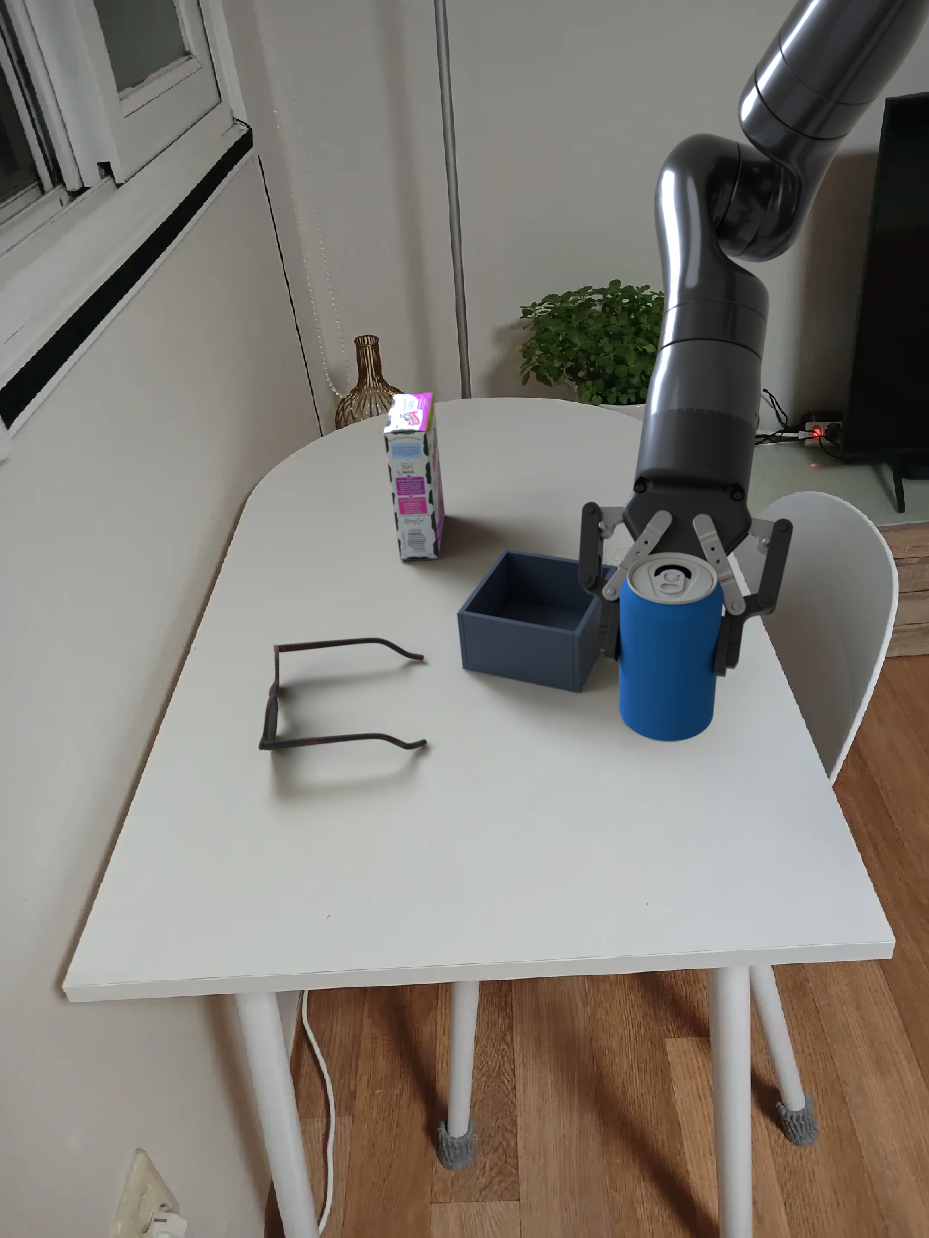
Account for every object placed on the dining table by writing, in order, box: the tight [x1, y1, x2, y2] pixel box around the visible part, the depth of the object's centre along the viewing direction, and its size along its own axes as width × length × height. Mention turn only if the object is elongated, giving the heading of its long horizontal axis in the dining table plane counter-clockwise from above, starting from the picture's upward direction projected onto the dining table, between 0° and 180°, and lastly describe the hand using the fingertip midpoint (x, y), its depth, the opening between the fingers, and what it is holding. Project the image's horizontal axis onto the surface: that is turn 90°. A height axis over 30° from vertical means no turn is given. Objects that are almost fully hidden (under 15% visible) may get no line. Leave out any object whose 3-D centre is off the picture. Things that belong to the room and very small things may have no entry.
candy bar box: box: [383, 392, 446, 561], centre depth 111 cm, size 11×5×16 cm, turn 178°
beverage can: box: [618, 552, 724, 743], centre depth 64 cm, size 6×6×12 cm
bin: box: [456, 548, 619, 694], centre depth 95 cm, size 12×12×7 cm
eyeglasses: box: [258, 637, 428, 752], centre depth 90 cm, size 15×15×5 cm
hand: (664, 666), depth 62 cm, fingers closed on beverage can, 6 cm apart
